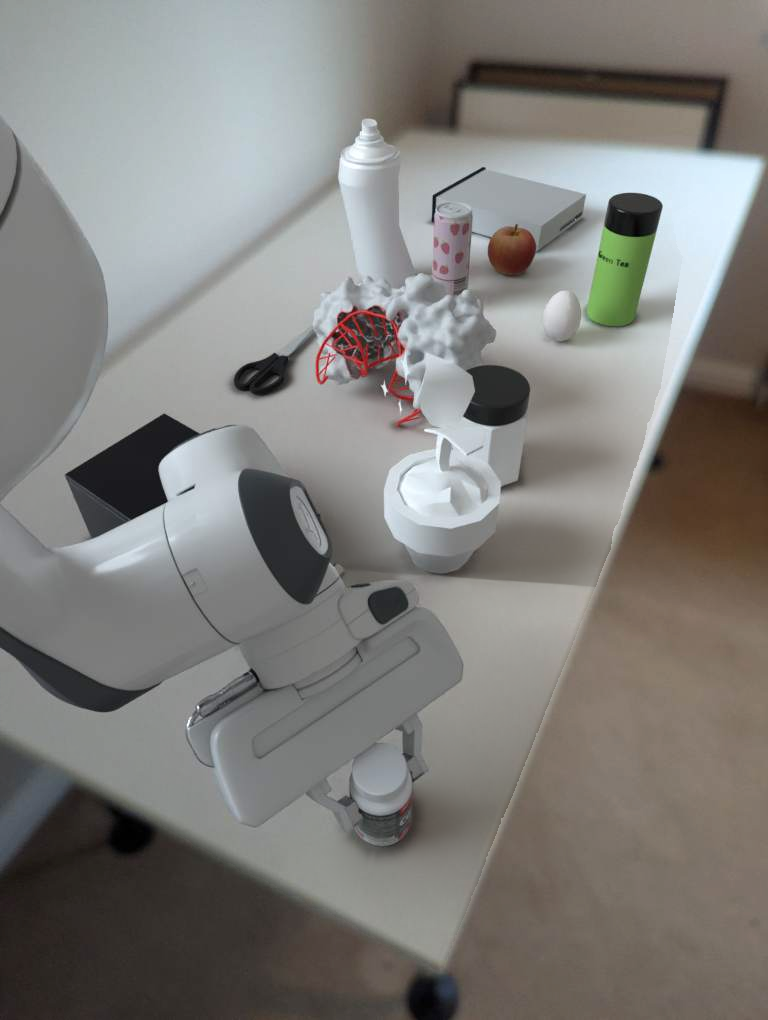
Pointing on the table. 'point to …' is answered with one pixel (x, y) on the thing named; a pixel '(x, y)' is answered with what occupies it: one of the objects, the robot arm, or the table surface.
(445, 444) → the potted plant
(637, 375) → the table surface
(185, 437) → the black drawer cabinet
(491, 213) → the disc drive
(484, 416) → the jar
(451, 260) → the beverage can
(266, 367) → the scissors
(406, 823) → the pill bottle
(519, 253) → the apple
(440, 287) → the molecular structure model
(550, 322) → the egg
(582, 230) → the table surface
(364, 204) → the spray can
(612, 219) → the tumbler
